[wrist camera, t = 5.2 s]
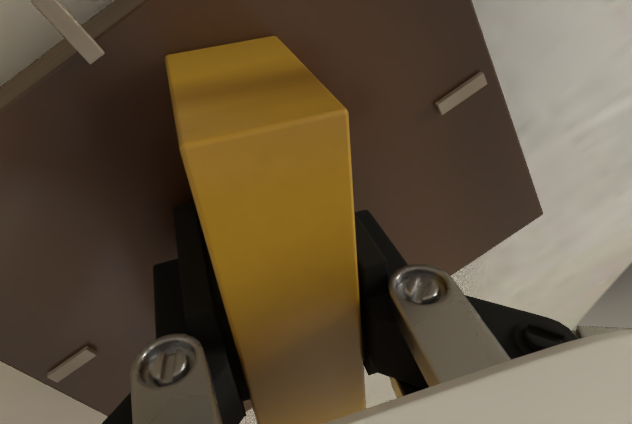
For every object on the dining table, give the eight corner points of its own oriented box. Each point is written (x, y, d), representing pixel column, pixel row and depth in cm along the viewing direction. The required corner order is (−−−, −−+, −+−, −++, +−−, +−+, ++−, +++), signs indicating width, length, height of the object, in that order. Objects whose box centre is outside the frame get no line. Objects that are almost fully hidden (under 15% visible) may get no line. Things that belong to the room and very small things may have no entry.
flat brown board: (326, -235, 11) (386, -274, 8) (499, 191, 19) (554, 237, 17) (-183, 159, 12) (-269, 232, 9) (194, 397, 20) (202, 469, 18)
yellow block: (162, 54, 10) (179, 153, 6) (276, 33, 10) (356, 115, 7) (247, 365, 16) (283, 516, 12) (318, 343, 16) (374, 482, 12)
